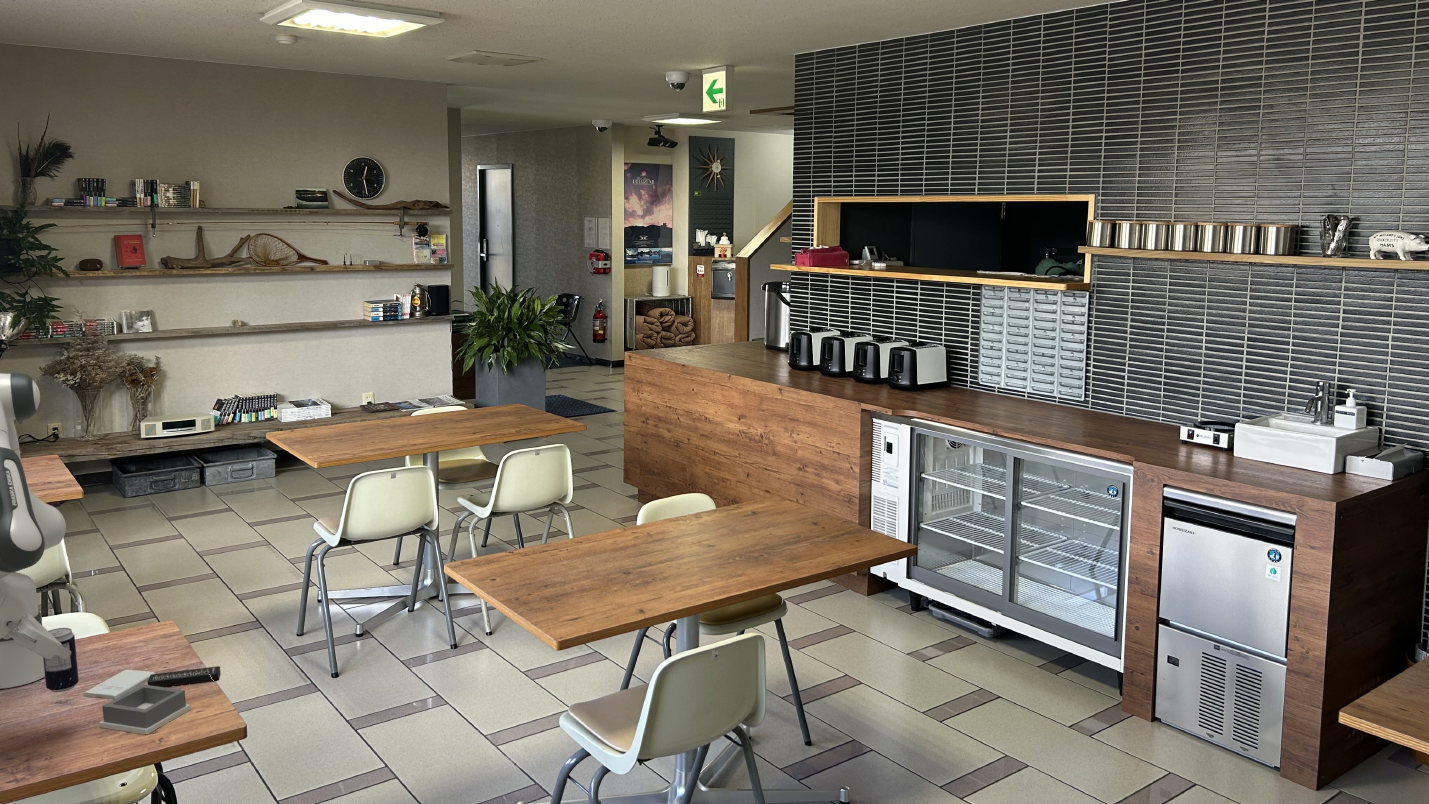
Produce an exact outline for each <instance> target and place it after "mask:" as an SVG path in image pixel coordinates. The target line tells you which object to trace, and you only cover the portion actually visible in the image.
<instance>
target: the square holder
mask: <svg viewBox="0 0 1429 804" xmlns="http://www.w3.org/2000/svg"><path fill="white" fill-rule="evenodd" d="M191 708H192V707H191V704H187V701H186V690H185V689H177V688H173V687H167V688H165V687H158V686H151V685H148V684H145V683H144V684H142V685H140V686H138V687H137V688H135V689H133V690H131V691H130V692H128V693H126V694H124V695H122V696H120V697H118V698H117V699H115V700H114V699H112V700H111V701H109V702H107V703H105V704H103V705H102V716H103V720H101V721H100V722H98V724H99V725H98V727H99V728H101V729H102V728H103V729H107V730H116V731H121V732H128V733H133V734H140V735H145V734H146V735H147V734H148V735H150V734H151V733H152V732H154V731H156V730H158V729H159V727H160V728H161V727H162V726H165V725H166V724H168V723H169V721H170V722H171V721H173V720H174V719H177V718H178V717H180V716H182V715H184V714H185V713H187V712H189V711H190V710H192V709H191ZM157 728H158V729H157Z"/></svg>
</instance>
